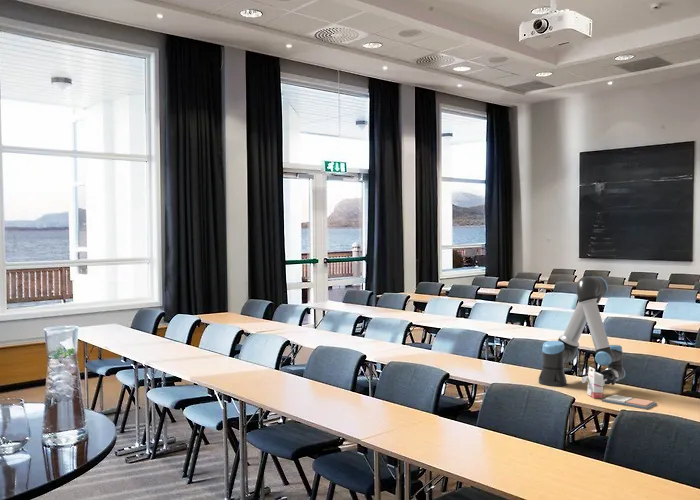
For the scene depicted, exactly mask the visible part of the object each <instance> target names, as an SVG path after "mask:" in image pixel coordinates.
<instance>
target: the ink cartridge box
mask: <svg viewBox="0 0 700 500" xmlns="http://www.w3.org/2000/svg"><path fill="white" fill-rule="evenodd" d="M587 374H588V382H587V395H588V396H590V397H591V398H593V399H604V398H603V395H604V394H603V393H604V386H601V380H603V375H601V374H600V372H597V371H596V369H595V368H594V367H591V366H588V372H587Z"/></svg>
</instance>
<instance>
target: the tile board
mask: <svg viewBox="0 0 700 500" xmlns="http://www.w3.org/2000/svg"><path fill="white" fill-rule="evenodd" d="M601 401H602V403H609V404H613V405H619V406H623V407H624V406H625V407H631V408H636V409H643V410H648V409H650V408H653V407H655V406H656V405H658V402H656V401H652V400H648V399H642V398H636V397H635V398H634V397H629V396H623V395H619V394H612V395H610V396H607V397H605V398H602V400H601Z"/></svg>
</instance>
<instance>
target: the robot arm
mask: <svg viewBox="0 0 700 500" xmlns="http://www.w3.org/2000/svg"><path fill="white" fill-rule="evenodd" d="M575 288H576V289H575V291H576V296H577V299H578V301H577V304H576V306H575V309H574V311H573V313H572V314H571V315H572V316H571V318H570V319H569V321H568V324H567V326H566V328H565V331H564V332H563V334H562V335H560V336H559V337H558V339H557V340H550V341H548V340H547V341H545V342H543V344H542V348H541V351H542V354H541V357H542V359H541V360H542V362H541V365H542V366H541V367H542V368H541V371H540V375H539V376H538V383H539V384H541V385H543V386H544V385H545V386H549V387H565V386H567V383H568V381H567V377H566V374H565V369H564V367H565V363H571V362H572V361H574V360H575V359H577V357H578V354H579V349H578V348H579V347H580V343H579V339H580V337H581V335H582V333H583V331H584V330H585V329H584V328H585V326H586V324H587V326H588V329H589V332H590V335H591V339H592V340H591V341H592V343H593V346H594V349H595V352H596V354H595V357H594V360H595V362H596V363H597V365H599V366H601V367H604V366H605V367H607V368H606V369H603V370H601V371H600V372H599V374H601V375H603V380H601V386H603V387H604V386H607V385H612V386H614V385H615V384H617V383H618V382H619V381H621V380H623V379H624V378H625V377H626V371H625V369H624V367H623V347H622V345H620V344H610V342H609V339H608V336H607V333H606V329H605V326H604V322H603V319H602V316H601V313H600V309H599V306H598V305H599V303H600V301H601V299H602V297H604V296H605V295H606V294H607V293H608V290H609V286H608V282H607V281H606V280H605V279H604V278H603V277H600V276H596V275H594V276H592V275H591V276H588V275H587V276H583V277H581V278H579V280H578V281H577V282H576V287H575ZM584 383H588V373H587V374H582V376H581V384H584Z"/></svg>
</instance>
